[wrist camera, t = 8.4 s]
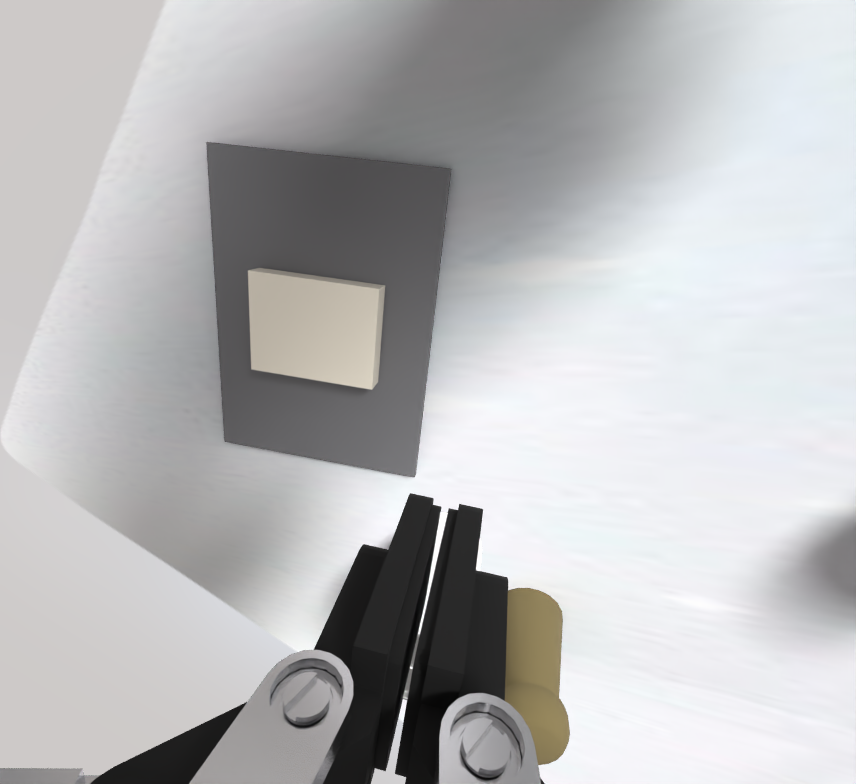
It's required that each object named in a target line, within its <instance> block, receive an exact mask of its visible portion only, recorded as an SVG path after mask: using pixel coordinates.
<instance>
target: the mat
mask: <svg viewBox="0 0 856 784" xmlns="http://www.w3.org/2000/svg"><path fill="white" fill-rule="evenodd" d="M207 158H208V175H209V191H210V208H211V224H212V241H213V258H214V274H215V291H216V307H217V324H218V340H219V357H220V373H221V390H222V406H223V423H224V439H225V442H230V443H235V444H241V445H246V446H251V447H256V448H262V449H267V450H272V451H278V452H283V453H288V454H293V455H299V456H304V457H309V458H315V459H320V460H325V461H330V462H336V463H341V464H346V465H352V466H357V467H362V468H367V469H373V470H378V471H383V472H389V473H394V474H399V475H404V476H410V477H415V475H416V468H417V460H418V451H419V442H420V434H421V425H422V417H423V408H424V399H425V391H426V382H427V373H428V365H429V356H430V348H431V339H432V330H433V322H434V313H435V305H436V296H437V287H438V279H439V270H440V262H441V253H442V244H443V236H444V227H445V218H446V210H447V201H448V193H449V184H450V175H451V169H448V168H439V167H430V166H421V165H412V164H403V163H394V162H385V161H375V160H366V159H357V158H348V157H339V156H330V155H321V154H312V153H302V152H293V151H284V150H275V149H266V148H257V147H248V146H238V145H229V144H220V143H211V142H207ZM256 268H265V269H273V270H280V271H287V272H294V273H301V274H308V275H315V276H322V277H329V278H336V279H343V280H350V281H357V282H364V283H372V284H379V285H385V297H384V310H383V323H382V337H381V350H380V364H379V377H378V383H377V384H376V385H375V387H374V388H373V389H372V390H371V389H365V388H359V387H353V386H347V385H341V384H335V383H329V382H323V381H317V380H311V379H306V378H300V377H294V376H288V375H282V374H276V373H270V372H264V371H258V370H252V369H251V346H250V317H249V287H248V270H252V269H256Z"/></svg>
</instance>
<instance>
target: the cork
mask: <svg viewBox="0 0 856 784" xmlns="http://www.w3.org/2000/svg"><path fill="white" fill-rule="evenodd" d="M562 623H563V619H562V611H561V609H560V607H559V605H558V603H557V602H556V601H555V600H554V599H553V598H551V597H550V596H549V595H547V594H545V593H543V592H541V591H539V590H534V589H530V588H516V589H513V590H509V591H508V606H507V641H506V677H505V702H507V703H509V704H510V705H511V706H512V707H513V708H514V709H515V710H516V711H517V712H518V713H519V714H520V715H521V716H522V717H523V719H524V721H525V722H526V724H527V726H528V727H529V729H530V732H531V735H532V738H533V741H534V745H535V750H536V756H537V762H538V765H542V764H549V763H551V762H553V761H555V760H557V759H558V758H559V757H560V756H561V755H562V754H563V753H564V751H565V749H566V746H567V744H568V741H569V735H570V731H569V722H568V715H567V712H566V710H565V707H564V705H563V704H562V702H561V700H560V699H559V685H560V664H561V643H562Z"/></svg>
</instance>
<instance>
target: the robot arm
mask: <svg viewBox="0 0 856 784" xmlns="http://www.w3.org/2000/svg"><path fill="white" fill-rule="evenodd" d="M440 513H441V507H440V506H436V505H433V498H429V497H425V496H420V495H416V494H411V493H410V495H409V497H408V499H407V502H406V505H405V507H404V510H403V513H402V516H401V518H400V521H399V524H398V526H397V529H396V532H395V534H394V537H393V540H392V542H391V545H390V548H389V550H386V549H382V548H378V547H373V546H369V545H365V544H363V545H362V547H361V548H360V550H359V552H358V554H357V557H356V559H355V561H354V563H353V565H352V567H351V570H350V572H349V574H348V576H347V578H346V581H345V583H344V585H343V587H342V589H341V592H340V594H339V596H338V598H337V600H336V602H335V605H334V607H333V609H332V611H331V613H330V616H329V618H328V620H327V622H326V624H325V627H324V629H323V631H322V633H321V635H320V637H319V640H318V642H317V644H316V646H315V648H314V650H304V651H301V652H297V653H294V654H291V655H289V656H288V657H286V658H285V659H283V660H281V661H280V662H279V663H277V664H276V665H275V666H274V668H273V669H272V670H271V671H270V672H269V673H268V674H267V675H266V677H265V678H264V680H263V681H262V682H261V684H260V685H259V687H258V688H257V689H256V691H255V692H254V694H253V695H252V696H251V698H250V699H249V701H248V702H246V703H244V704H242V705H240V706H238V707H236V708H234V709H232V710H230V711H228V712H226V713H224V714H222V715H219V716H217V717H215V718H213V719H211V720H209V721H207V722H205V723H203V724H201V725H199V726H197V727H195V728H193V729H191V730H189V731H187V732H185V733H183V734H181V735H178V736H176V737H174V738H172V739H170V740H168V741H166V742H164V743H162V744H160V745H158V746H156V747H154V748H152V749H150V750H148V751H146V752H144V753H142V754H140V755H138V756H135V757H133V758H131V759H129V760H128V761H126V762H123V763H121V764H119V765H117V766H115V767H113V768H112V769H110V770H108V771H107V772H105V773H104V774H102V775H98V776H97V775H95V776H94V775H91V776H90V775H88V776H87V775H86V776H85V775H84V773H83V769H37V768H32V769H30V768H29V769H28V768H20V769H19V768H18V769H17V768H16V769H15V768H14V769H13V768H11V769H10V768H6V769H5V768H0V784H371V781H372V777H373V773H374V769H375V768H377V769H380V770H384V771H386V768H387V764H388V760H389V755H390V751H391V747H392V742H393V738H394V734H395V729H396V725H397V721H398V717H399V713H400V708H401V704H402V700H403V695H404V691H405V687H406V683H407V678H408V674H409V670H410V665H411V661H412V657H413V653H414V648H415V644H416V640H417V635H418V631H419V627H420V623H421V618H422V614H423V610H424V605H425V600H426V595H427V589H428V583H429V577H430V571H431V566H432V560H433V554H434V548H435V542H436V536H437V530H438V524H439V519H440ZM482 514H483V509H480V508H476V507H471V506H466V505H462V504H459V508H458V510H454V509H449V510H448V514H447V518H446V523H445V527H444V531H443V536H442V540H441V544H440V549H439V553H438V558H437V562H436V566H435V571H434V575H433V580H432V584H431V588H430V593H429V597H428V601H427V606H426V610H425V615H424V619H423V623H422V628H421V632H420V636H419V641H418V645H417V650H416V655H415V660H414V665H413V670H412V676H411V682H410V688H409V693H408V699H407V705H406V711H405V717H404V723H403V730H402V735H401V741H400V747H399V753H398V759H397V764H396V770H395V774H397V775H401V776H404V777H406V782H405V784H544V782H543V781H542V779H541V778H540V774H539V768H538V762H537V756H536V750H535V745H534V741H533V738H532V735H531V732H530V729H529V727H528V726H527V724H526V722H525V721H524V719H523V717H522V716H521V715H520V714H519V713H518V712H517V711H516V710H515V709H514V708H513V707H512V706H511V705H510V704H509V703H507V702H505V677H506V641H507V606H508V579H507V577H503V576H498V575H494V574H490V573H486V572H481V571H477V570H476V566H477V557H478V549H479V540H480V531H481V523H482Z"/></svg>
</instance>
